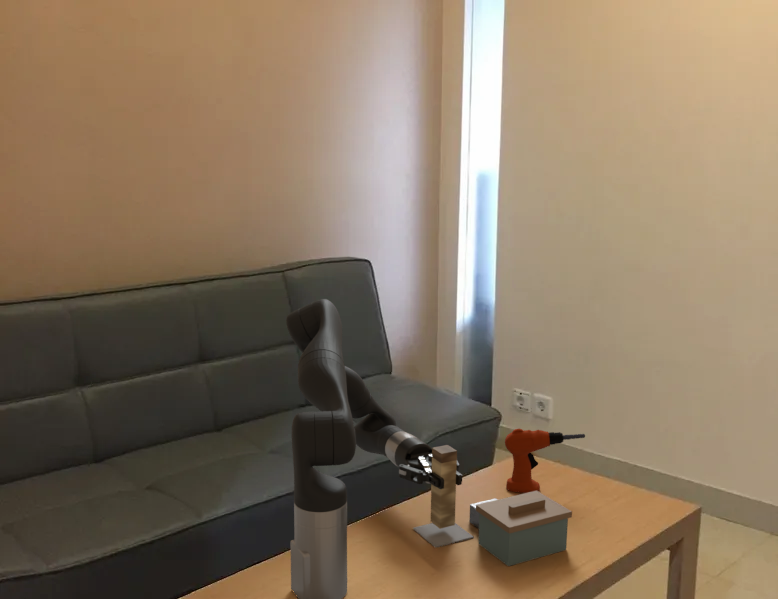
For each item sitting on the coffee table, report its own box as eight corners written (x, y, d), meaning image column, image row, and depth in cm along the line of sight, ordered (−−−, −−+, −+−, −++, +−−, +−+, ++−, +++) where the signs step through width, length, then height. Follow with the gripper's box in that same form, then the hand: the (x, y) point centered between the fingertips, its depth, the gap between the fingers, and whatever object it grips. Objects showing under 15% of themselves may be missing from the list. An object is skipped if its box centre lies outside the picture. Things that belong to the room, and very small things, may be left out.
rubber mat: (435, 547, 164) (435, 546, 164) (412, 529, 171) (412, 527, 171) (473, 537, 168) (473, 536, 168) (449, 520, 176) (449, 518, 176)
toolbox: (507, 568, 156) (509, 519, 154) (474, 543, 166) (476, 497, 164) (569, 550, 163) (572, 503, 161) (534, 527, 173) (536, 483, 171)
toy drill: (590, 489, 188) (585, 427, 185) (507, 496, 190) (501, 434, 187) (587, 481, 193) (582, 419, 190) (506, 487, 195) (500, 426, 192)
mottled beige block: (439, 528, 167) (441, 453, 164) (430, 521, 170) (432, 447, 167) (454, 525, 169) (457, 450, 165) (445, 517, 172) (447, 444, 169)
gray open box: (487, 535, 169) (488, 516, 168) (469, 522, 175) (469, 504, 174) (513, 528, 172) (514, 510, 171) (495, 515, 178) (495, 498, 177)
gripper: (380, 442, 176) (421, 471, 161) (437, 431, 182) (481, 458, 167) (379, 475, 177) (420, 507, 162) (436, 463, 184) (480, 493, 169)
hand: (451, 482), depth 165 cm, fingers closed on mottled beige block, 3 cm apart
